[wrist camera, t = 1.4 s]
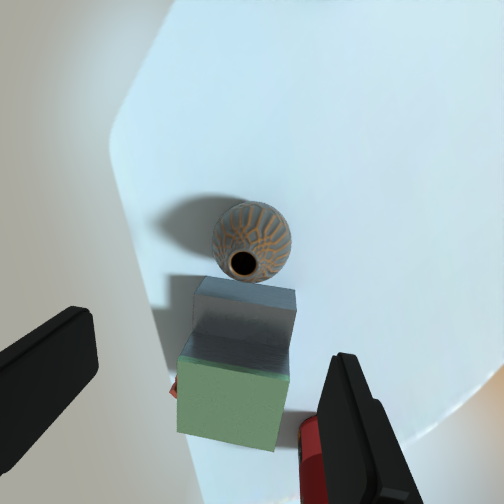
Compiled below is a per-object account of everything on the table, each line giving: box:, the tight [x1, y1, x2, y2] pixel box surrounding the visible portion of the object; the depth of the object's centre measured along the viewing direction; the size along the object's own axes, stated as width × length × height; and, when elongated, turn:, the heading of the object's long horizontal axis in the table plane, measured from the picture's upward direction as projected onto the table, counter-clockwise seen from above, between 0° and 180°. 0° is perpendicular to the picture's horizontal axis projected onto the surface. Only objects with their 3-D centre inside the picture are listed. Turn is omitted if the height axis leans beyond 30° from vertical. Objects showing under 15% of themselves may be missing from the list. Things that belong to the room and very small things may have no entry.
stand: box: [169, 276, 297, 452], centre depth 26 cm, size 14×11×8 cm
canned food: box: [298, 416, 329, 504], centre depth 29 cm, size 8×8×11 cm
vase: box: [212, 201, 291, 283], centre depth 21 cm, size 7×7×9 cm
